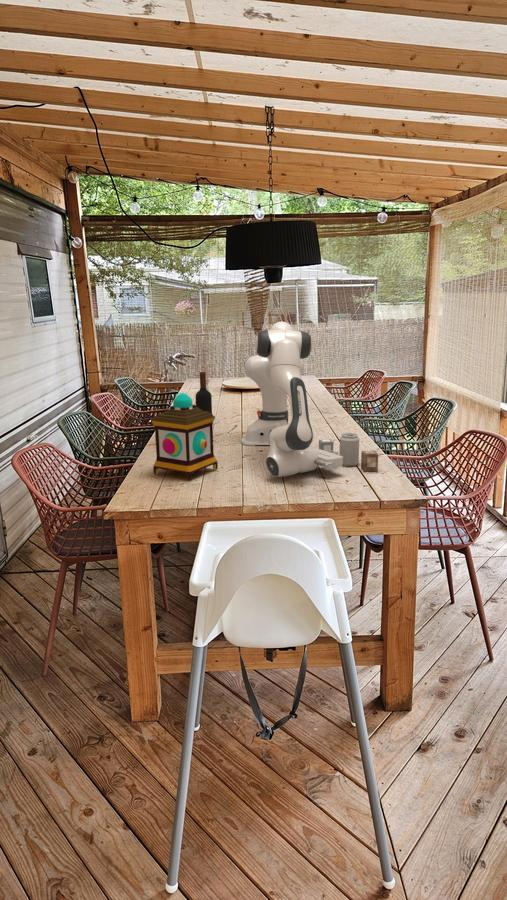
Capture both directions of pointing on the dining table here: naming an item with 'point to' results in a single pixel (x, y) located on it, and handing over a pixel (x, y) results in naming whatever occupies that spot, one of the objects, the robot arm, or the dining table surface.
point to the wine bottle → (204, 395)
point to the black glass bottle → (208, 390)
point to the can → (349, 449)
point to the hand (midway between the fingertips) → (335, 453)
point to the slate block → (326, 445)
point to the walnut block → (369, 461)
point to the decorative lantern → (184, 438)
